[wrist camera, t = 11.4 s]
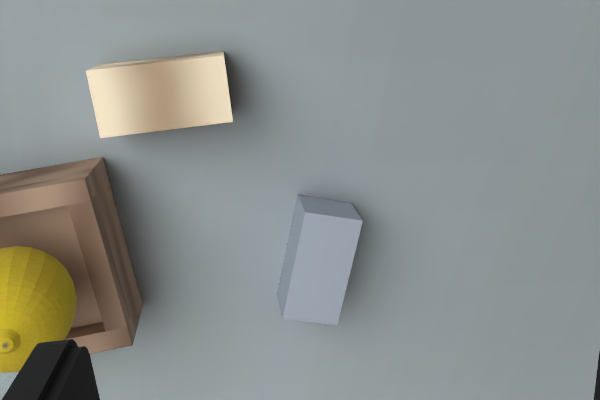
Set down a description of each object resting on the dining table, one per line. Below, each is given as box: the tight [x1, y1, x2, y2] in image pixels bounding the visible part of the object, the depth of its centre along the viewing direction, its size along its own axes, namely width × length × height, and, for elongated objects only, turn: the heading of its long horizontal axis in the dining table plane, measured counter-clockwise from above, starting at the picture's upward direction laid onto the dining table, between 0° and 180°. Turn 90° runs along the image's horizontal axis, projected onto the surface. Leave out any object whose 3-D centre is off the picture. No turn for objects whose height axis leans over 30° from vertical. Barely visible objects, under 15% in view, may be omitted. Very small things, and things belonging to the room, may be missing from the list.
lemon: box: [0, 246, 77, 373], centre depth 28 cm, size 6×6×8 cm
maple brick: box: [86, 51, 233, 138], centre depth 31 cm, size 7×4×4 cm, turn 96°
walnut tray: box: [0, 157, 143, 354], centre depth 33 cm, size 10×10×5 cm
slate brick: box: [277, 195, 363, 325], centre depth 36 cm, size 7×4×4 cm, turn 169°
